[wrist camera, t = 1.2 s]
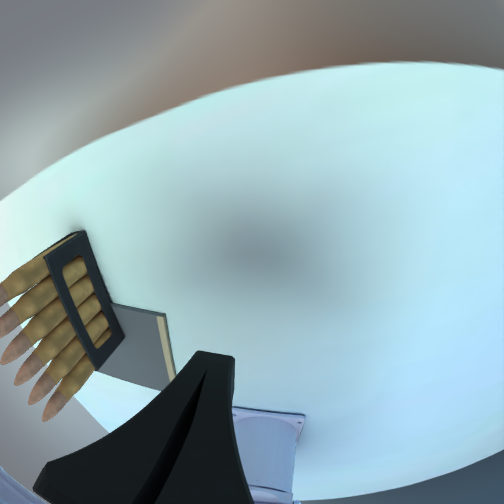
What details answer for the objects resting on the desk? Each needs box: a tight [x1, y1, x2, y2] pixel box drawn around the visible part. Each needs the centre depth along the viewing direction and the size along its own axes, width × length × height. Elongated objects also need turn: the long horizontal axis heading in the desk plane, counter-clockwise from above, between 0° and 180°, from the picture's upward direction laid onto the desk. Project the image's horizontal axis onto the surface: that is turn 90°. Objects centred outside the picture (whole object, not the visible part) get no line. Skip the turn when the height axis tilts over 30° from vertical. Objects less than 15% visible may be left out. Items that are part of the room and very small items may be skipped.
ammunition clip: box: [0, 231, 125, 422], centre depth 17 cm, size 11×2×12 cm, turn 10°
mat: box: [98, 303, 176, 391], centre depth 26 cm, size 11×13×1 cm
